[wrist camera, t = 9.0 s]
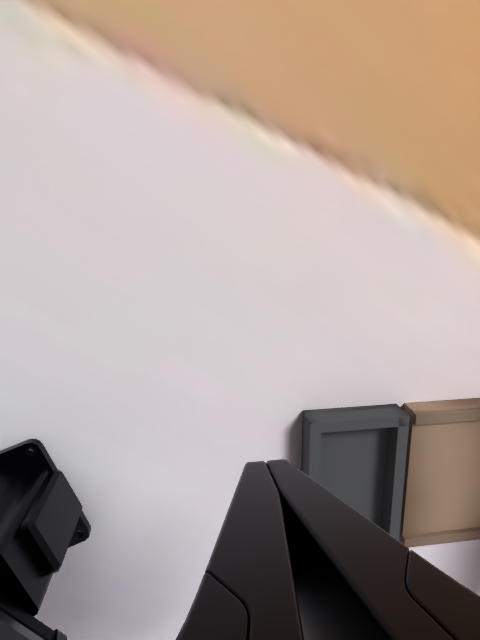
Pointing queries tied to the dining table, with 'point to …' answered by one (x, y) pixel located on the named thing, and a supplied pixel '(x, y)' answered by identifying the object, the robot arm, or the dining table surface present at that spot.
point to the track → (441, 473)
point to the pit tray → (359, 458)
